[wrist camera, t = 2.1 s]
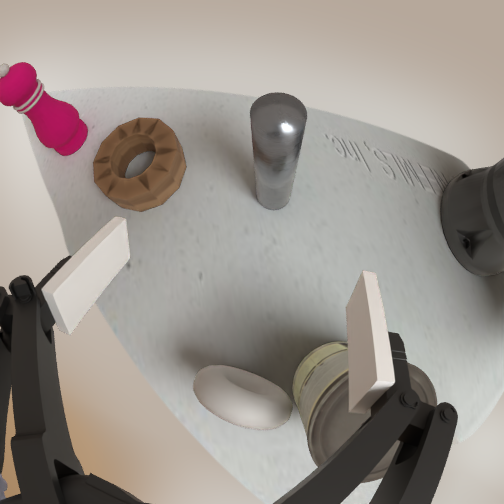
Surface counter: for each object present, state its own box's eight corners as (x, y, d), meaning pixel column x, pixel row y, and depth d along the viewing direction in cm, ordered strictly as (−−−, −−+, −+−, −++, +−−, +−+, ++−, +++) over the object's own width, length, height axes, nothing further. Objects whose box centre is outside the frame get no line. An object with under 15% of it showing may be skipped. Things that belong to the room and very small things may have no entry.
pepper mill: (95, 116, 39) (30, 36, 19) (84, 155, 37) (4, 79, 18) (62, 125, 39) (-4, 57, 19) (51, 162, 38) (-28, 99, 18)
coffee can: (377, 336, 31) (442, 350, 17) (374, 416, 29) (428, 466, 16) (290, 343, 32) (309, 369, 18) (291, 426, 30) (305, 492, 16)
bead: (196, 140, 37) (188, 121, 32) (169, 217, 35) (157, 205, 30) (126, 133, 38) (114, 116, 33) (98, 203, 36) (81, 191, 31)
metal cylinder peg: (293, 182, 35) (310, 98, 19) (286, 213, 34) (302, 141, 19) (260, 175, 35) (257, 88, 20) (253, 206, 35) (244, 130, 19)
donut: (200, 379, 31) (175, 406, 22) (210, 353, 32) (188, 371, 22) (281, 410, 30) (287, 448, 20) (293, 384, 31) (304, 414, 21)
